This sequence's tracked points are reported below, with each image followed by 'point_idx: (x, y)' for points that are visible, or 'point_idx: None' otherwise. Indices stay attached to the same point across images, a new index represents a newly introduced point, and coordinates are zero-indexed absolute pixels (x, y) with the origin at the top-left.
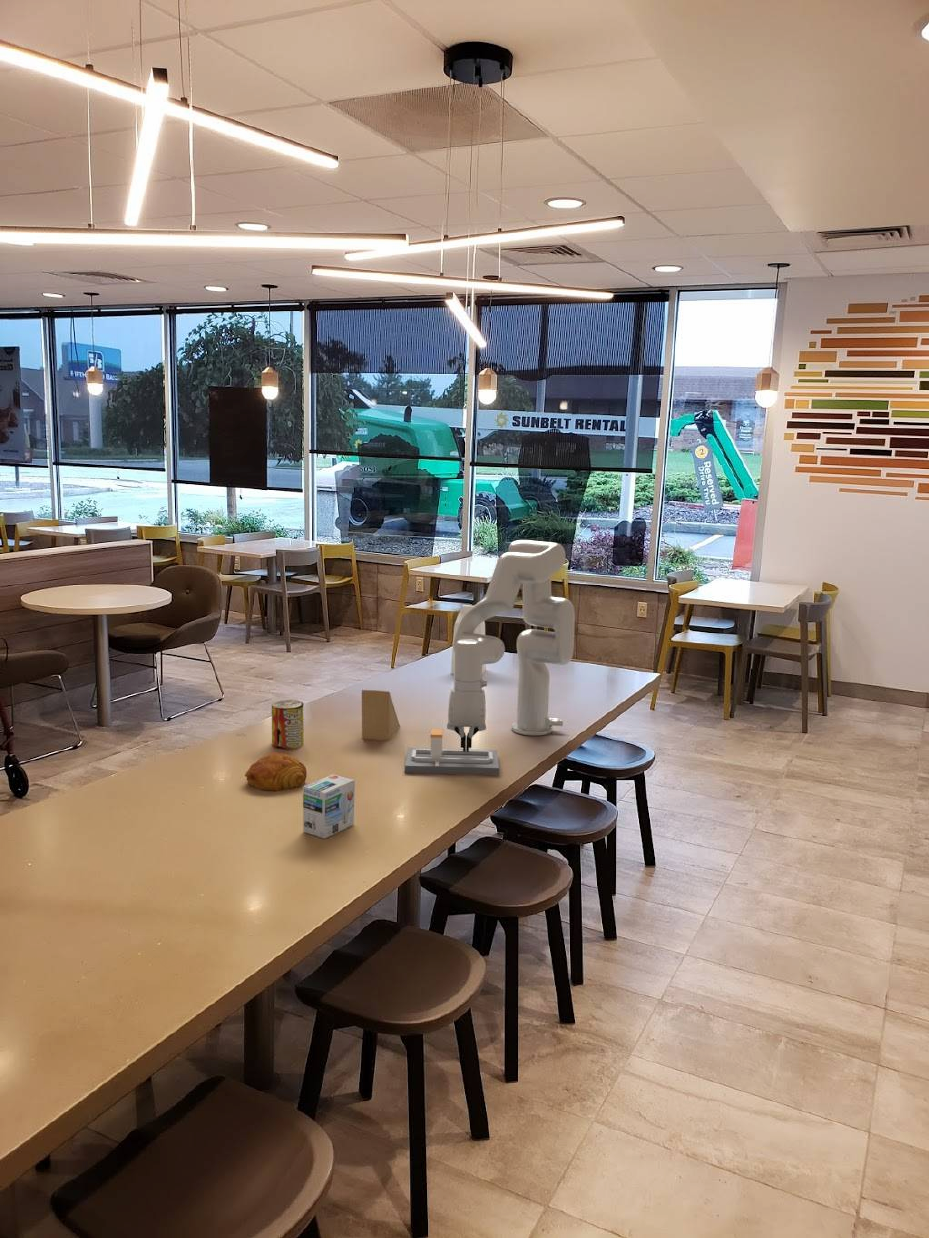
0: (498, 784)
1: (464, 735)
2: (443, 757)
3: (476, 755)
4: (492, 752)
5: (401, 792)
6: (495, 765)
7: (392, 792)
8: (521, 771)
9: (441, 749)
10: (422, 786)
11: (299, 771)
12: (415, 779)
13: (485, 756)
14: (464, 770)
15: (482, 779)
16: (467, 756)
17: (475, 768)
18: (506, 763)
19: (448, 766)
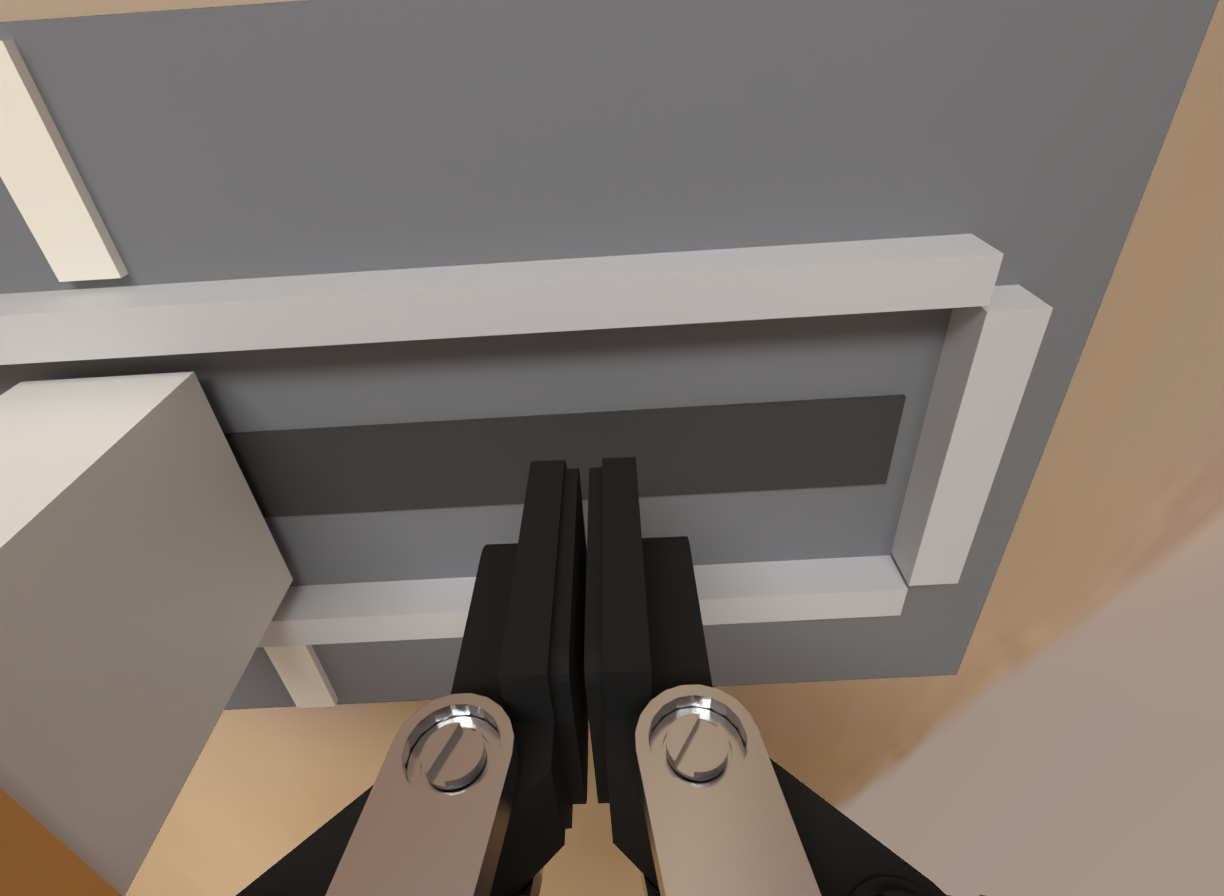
0: (871, 748)
1: (546, 838)
2: (288, 491)
3: (755, 334)
4: (1080, 126)
5: (243, 875)
6: (940, 624)
7: (192, 879)
8: (1208, 504)
9: (230, 687)
10: (331, 815)
11: None
12: (225, 742)
13: (892, 359)
14: None
15: (759, 693)
16: (614, 392)
17: (711, 678)
18: (1159, 271)
19: (435, 692)
